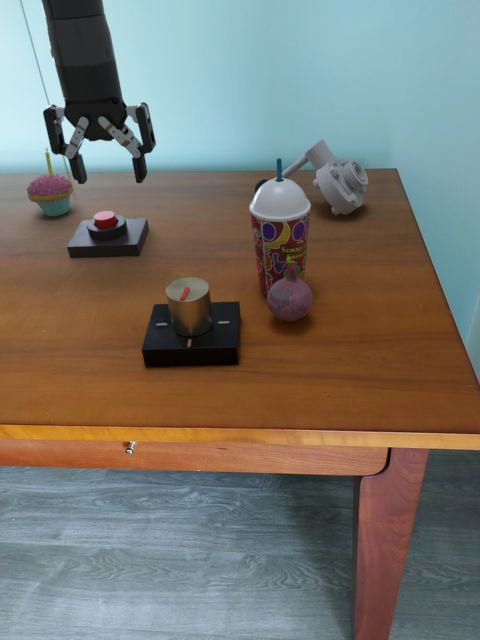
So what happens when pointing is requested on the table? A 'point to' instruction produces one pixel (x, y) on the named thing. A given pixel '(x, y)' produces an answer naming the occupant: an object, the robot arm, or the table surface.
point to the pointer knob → (190, 306)
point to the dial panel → (193, 339)
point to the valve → (332, 178)
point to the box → (109, 239)
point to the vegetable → (290, 296)
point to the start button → (105, 219)
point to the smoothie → (279, 229)
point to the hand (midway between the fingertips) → (111, 181)
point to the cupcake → (51, 192)
